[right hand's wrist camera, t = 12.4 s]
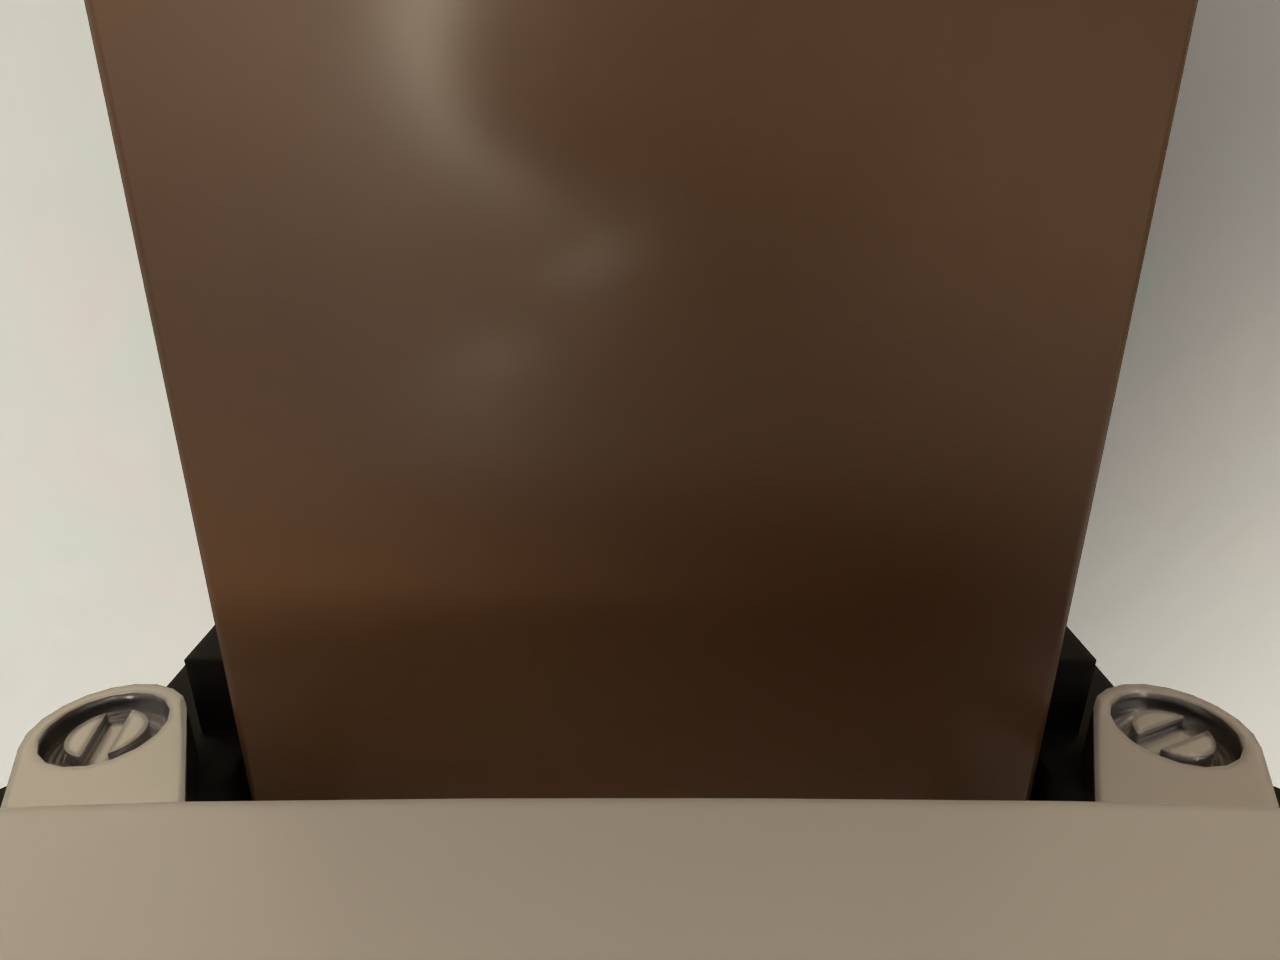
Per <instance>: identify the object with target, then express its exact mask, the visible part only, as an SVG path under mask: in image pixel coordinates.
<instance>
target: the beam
mask: <svg viewBox="0 0 1280 960" xmlns="http://www.w3.org/2000/svg"><path fill="white" fill-rule="evenodd" d="M84 1H85V6H86V11H87V16H88V21H89V25H90V30H91V35H92V40H93V44H94V49H95V54H96V59H97V63H98V68H99V73H100V78H101V83H102V87H103V92H104V97H105V102H106V106H107V111H108V116H109V121H110V125H111V130H112V135H113V140H114V145H115V149H116V154H117V159H118V164H119V168H120V173H121V178H122V183H123V187H124V192H125V197H126V202H127V207H128V211H129V216H130V221H131V226H132V230H133V235H134V240H135V245H136V249H137V254H138V259H139V264H140V269H141V273H142V278H143V283H144V288H145V292H146V297H147V302H148V307H149V311H150V316H151V321H152V326H153V331H154V335H155V340H156V345H157V350H158V354H159V359H160V364H161V369H162V373H163V378H164V383H165V388H166V393H167V397H168V402H169V407H170V412H171V416H172V421H173V426H174V431H175V435H176V440H177V445H178V450H179V455H180V459H181V464H182V469H183V474H184V478H185V483H186V488H187V493H188V497H189V502H190V507H191V512H192V516H193V521H194V526H195V531H196V536H197V540H198V545H199V550H200V555H201V559H202V564H203V569H204V574H205V578H206V583H207V588H208V593H209V598H210V602H211V607H212V612H213V617H214V621H215V626H216V631H217V636H218V640H219V645H220V650H221V655H222V660H223V664H224V669H225V674H226V679H227V683H228V688H229V693H230V698H231V702H232V707H233V712H234V717H235V722H236V726H237V731H238V736H239V741H240V745H241V750H242V755H243V760H244V764H245V769H246V774H247V779H248V784H249V788H250V793H251V798H252V801H291V800H381V799H471V798H771V799H885V800H999V801H1030V796H1031V791H1032V786H1033V781H1034V777H1035V772H1036V767H1037V762H1038V758H1039V753H1040V748H1041V743H1042V739H1043V734H1044V729H1045V724H1046V720H1047V715H1048V710H1049V705H1050V701H1051V696H1052V691H1053V686H1054V682H1055V677H1056V672H1057V667H1058V663H1059V658H1060V653H1061V648H1062V644H1063V639H1064V634H1065V629H1066V625H1067V620H1068V615H1069V610H1070V606H1071V601H1072V596H1073V591H1074V587H1075V582H1076V577H1077V572H1078V568H1079V563H1080V558H1081V553H1082V549H1083V544H1084V539H1085V534H1086V530H1087V525H1088V520H1089V515H1090V511H1091V506H1092V501H1093V496H1094V492H1095V487H1096V482H1097V477H1098V473H1099V468H1100V463H1101V458H1102V454H1103V449H1104V444H1105V439H1106V435H1107V430H1108V425H1109V420H1110V416H1111V411H1112V406H1113V401H1114V397H1115V392H1116V387H1117V382H1118V378H1119V373H1120V368H1121V363H1122V359H1123V354H1124V349H1125V344H1126V340H1127V335H1128V330H1129V325H1130V321H1131V316H1132V311H1133V306H1134V302H1135V297H1136V292H1137V287H1138V283H1139V278H1140V273H1141V268H1142V264H1143V259H1144V254H1145V249H1146V245H1147V240H1148V235H1149V230H1150V226H1151V221H1152V216H1153V211H1154V207H1155V202H1156V197H1157V192H1158V188H1159V183H1160V178H1161V173H1162V169H1163V164H1164V159H1165V154H1166V150H1167V145H1168V140H1169V135H1170V131H1171V126H1172V121H1173V116H1174V112H1175V107H1176V102H1177V97H1178V93H1179V88H1180V83H1181V78H1182V74H1183V69H1184V64H1185V59H1186V55H1187V50H1188V45H1189V40H1190V36H1191V31H1192V26H1193V21H1194V17H1195V12H1196V7H1197V2H1198V0H84Z"/></svg>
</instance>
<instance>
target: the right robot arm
mask: <svg viewBox="0 0 1280 960" xmlns="http://www.w3.org/2000/svg"><path fill="white" fill-rule="evenodd" d="M1095 664H1096V659H1095V658H1094V657H1093V656H1092V655H1091V653H1090V652H1089V651H1088V650H1087V649H1086V648H1085V647H1084V645H1083V644H1082V643H1081V642H1080V641H1079V640H1078V639H1077V637H1076V636H1075V635H1074V634H1073V633H1072V632H1071V631H1070V629H1069V628H1068V627H1067V626H1066V629H1065V634H1064V639H1063V644H1062V648H1061V653H1060V658H1059V663H1058V667H1057V672H1056V677H1055V682H1054V686H1053V691H1052V696H1051V701H1050V705H1049V710H1048V715H1047V720H1046V724H1045V729H1044V734H1043V739H1042V743H1041V748H1040V753H1039V758H1038V762H1037V767H1036V772H1035V777H1034V781H1033V786H1032V791H1031V796H1030V801H999V800H885V799H771V798H471V799H381V800H291V801H252V798H251V793H250V788H249V784H248V779H247V774H246V769H245V764H244V760H243V755H242V750H241V745H240V741H239V736H238V731H237V726H236V722H235V717H234V712H233V707H232V702H231V698H230V693H229V688H228V683H227V679H226V674H225V669H224V664H223V660H222V655H221V650H220V645H219V640H218V636H217V631H216V626H214V627H213V628H212V629H211V630H210V631H209V632H208V634H207V635H206V636H205V637H204V638H203V639H202V640H201V642H200V643H199V644H198V645H197V646H196V647H195V648H194V650H193V651H192V652H191V653H190V654H189V655H188V656H187V658H186V659H185V666H184V667H183V668H182V670H181V671H180V672H179V673H178V674H177V675H176V677H175V678H174V679H173V680H172V681H171V682H170V683H169V685H168V686H167V687H165V686H161V685H157V684H134V685H127V686H121V687H115V688H110V689H107V690H103V691H100V692H97V693H93V694H90V695H87V696H84V697H82V698H80V699H78V700H76V701H73V702H71V703H69V704H67V705H64V706H62V707H61V708H59V709H58V710H56V711H55V712H53V713H51V714H50V715H48V716H47V717H45V718H44V719H42V720H41V721H40V722H39V723H38V724H37V725H36V726H35V727H34V728H32V729H31V730H30V731H29V732H28V733H27V734H26V736H25V738H24V739H23V741H22V743H21V745H20V746H19V748H18V751H17V754H16V758H15V761H14V764H13V768H12V771H11V774H10V778H9V781H8V784H7V786H6V787H4V788H1V789H0V960H1280V789H1279V788H1277V787H1274V786H1273V784H1272V781H1271V778H1270V774H1269V771H1268V768H1267V764H1266V761H1265V758H1264V754H1263V751H1262V748H1261V746H1260V745H1259V743H1258V741H1257V739H1256V738H1255V736H1254V734H1253V733H1252V732H1251V731H1250V730H1249V729H1248V728H1246V727H1245V726H1244V725H1243V724H1242V723H1241V722H1240V721H1239V720H1238V719H1236V718H1235V717H1233V716H1232V715H1230V714H1229V713H1227V712H1225V711H1224V710H1222V709H1221V708H1219V707H1218V706H1216V705H1213V704H1211V703H1209V702H1207V701H1204V700H1202V699H1200V698H1198V697H1196V696H1193V695H1190V694H1187V693H1183V692H1180V691H1177V690H1173V689H1170V688H1165V687H1159V686H1153V685H1146V684H1123V685H1119V686H1115V687H1114V686H1113V685H1112V684H1111V683H1110V682H1109V680H1108V679H1107V678H1106V677H1105V676H1104V675H1103V674H1102V672H1101V671H1100V670H1099V669H1098V668H1097V667H1096V665H1095Z"/></svg>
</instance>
